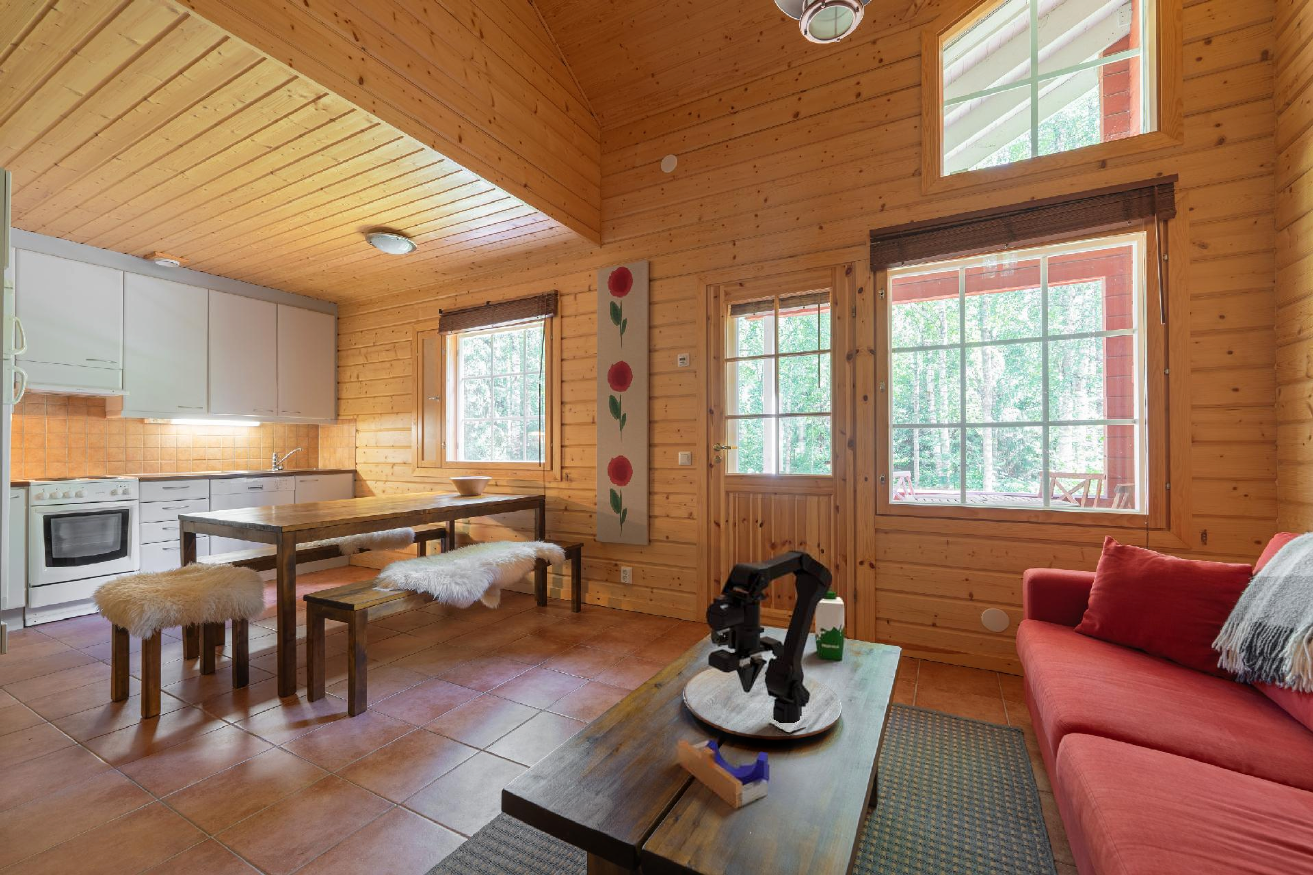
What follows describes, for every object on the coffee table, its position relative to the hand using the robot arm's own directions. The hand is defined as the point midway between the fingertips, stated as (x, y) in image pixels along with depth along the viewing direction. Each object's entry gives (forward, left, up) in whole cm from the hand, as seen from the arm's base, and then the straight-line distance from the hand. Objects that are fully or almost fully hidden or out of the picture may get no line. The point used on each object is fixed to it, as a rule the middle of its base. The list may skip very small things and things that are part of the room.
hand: (746, 691), depth 127 cm
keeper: (+13, +7, -12) cm, 19 cm away
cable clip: (+10, +8, -12) cm, 18 cm away
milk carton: (-61, -26, -12) cm, 67 cm away
